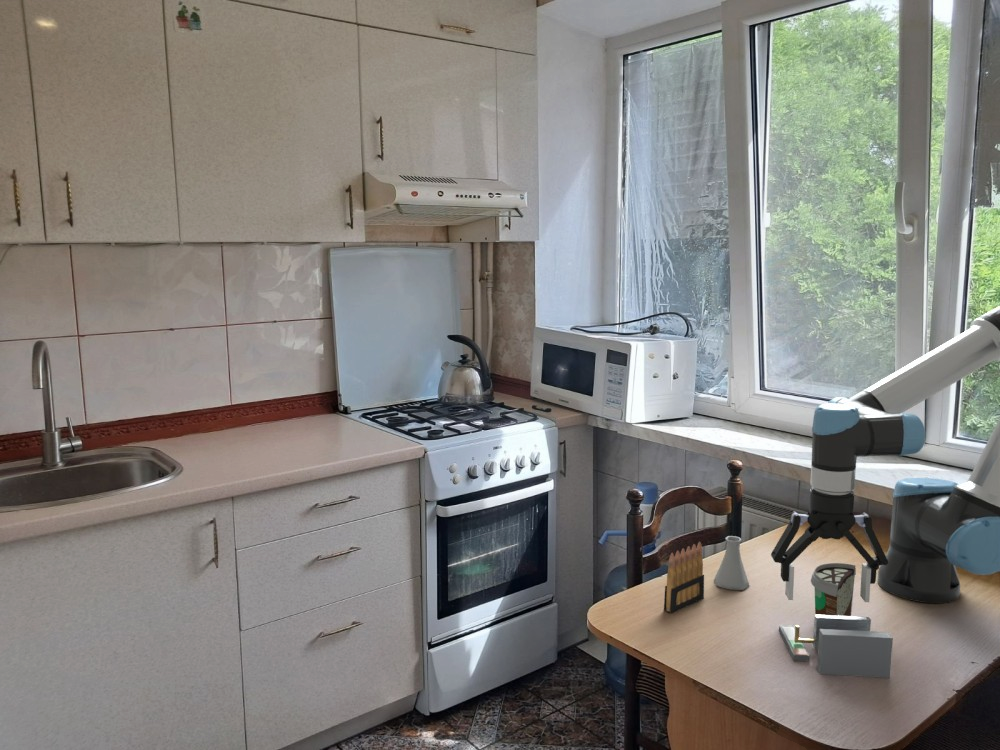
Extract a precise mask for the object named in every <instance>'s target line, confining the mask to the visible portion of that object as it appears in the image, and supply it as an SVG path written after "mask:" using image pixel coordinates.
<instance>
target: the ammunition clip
mask: <svg viewBox="0 0 1000 750" xmlns="http://www.w3.org/2000/svg"><path fill="white" fill-rule="evenodd" d="M703 565H704V561H703V547H702V543H701V541H698V543H697V545H696V543H693V545H692V546H691V547H690V546H689V545H688V546H687V547H686V550H685V548H684V547H683V548H682V549H681V551H679V550H676V552H675V555H674V553H673V552H671V553H670V555H669V559H668V566H667V567H668V568H667V569H668V570H667V574H666V585H665V586H664V600H663V601H664V603H663V611H664V612H667V613H669V614H670V615H673V614H675V613H676V612H679V611H681V610H683V609H685V608H687V607H689V606H691V605H693V604H695V603H697V602H699V600H700V601H702V600H704V599H705V575H704V574H703V573H704V572H703V568H704V567H703Z"/></svg>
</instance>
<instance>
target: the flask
mask: <svg viewBox="0 0 1000 750" xmlns="http://www.w3.org/2000/svg"><path fill="white" fill-rule="evenodd" d="M725 542H726V547H725V552H724V555H723V558H722V560H721V563H720V565H719V568H718V569H717V571H716V574H715V575H714V579H713V581H714V584H715V586H716V587H719V588H723V589H727V590H731V591H735V590H736V591H738V590H740V591H744V590H746V588H749V587H750V582H749V580H748V576H747V574H746V571H745V568H744V564H743V560H742V556H741V550H740V547H741V545H740V544H741V543H742V538H741V537H739V536H736V535H734V536H733V535H728V536H726V537H725Z"/></svg>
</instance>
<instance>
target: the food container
mask: <svg viewBox="0 0 1000 750" xmlns="http://www.w3.org/2000/svg"><path fill="white" fill-rule="evenodd" d="M856 569H857V568H856V565H855V564H850V563H842V562H830V563H823V564H819V565H818V566H817V567H815V569H814V571H812V575H811V579H810V583H811V585H812V586H813V587H814V611H815V613H814V616H815V615H836V616H852V607H853V599H854V586H855V576H856V574H857V573H856V572H857V570H856Z"/></svg>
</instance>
